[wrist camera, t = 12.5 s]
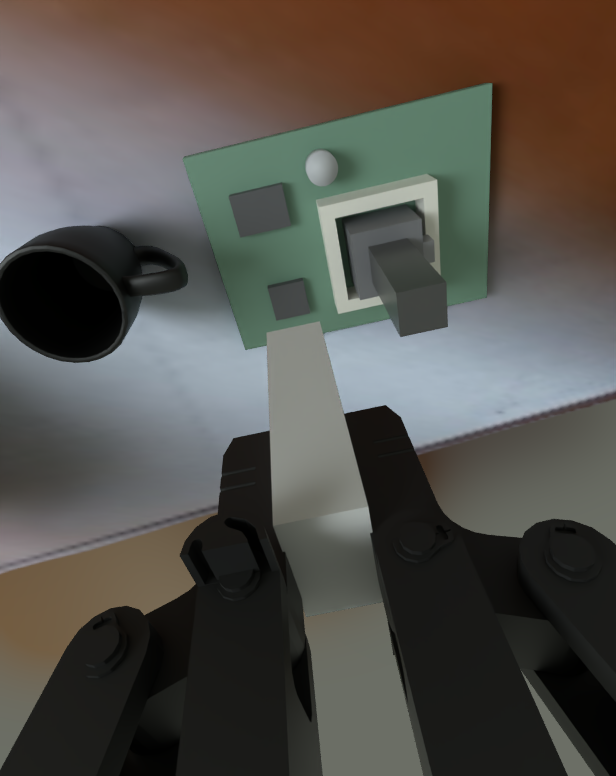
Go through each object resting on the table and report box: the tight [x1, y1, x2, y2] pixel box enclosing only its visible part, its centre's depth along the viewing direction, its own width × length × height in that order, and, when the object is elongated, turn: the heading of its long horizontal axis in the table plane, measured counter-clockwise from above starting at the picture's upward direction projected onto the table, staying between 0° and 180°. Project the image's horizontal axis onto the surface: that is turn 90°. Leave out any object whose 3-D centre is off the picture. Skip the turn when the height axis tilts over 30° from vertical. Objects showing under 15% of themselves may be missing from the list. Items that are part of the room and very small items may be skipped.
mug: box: [0, 226, 188, 363], centre depth 33 cm, size 8×12×10 cm
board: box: [183, 83, 492, 350], centre depth 35 cm, size 22×16×4 cm
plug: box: [342, 204, 448, 337], centre depth 31 cm, size 6×5×13 cm
